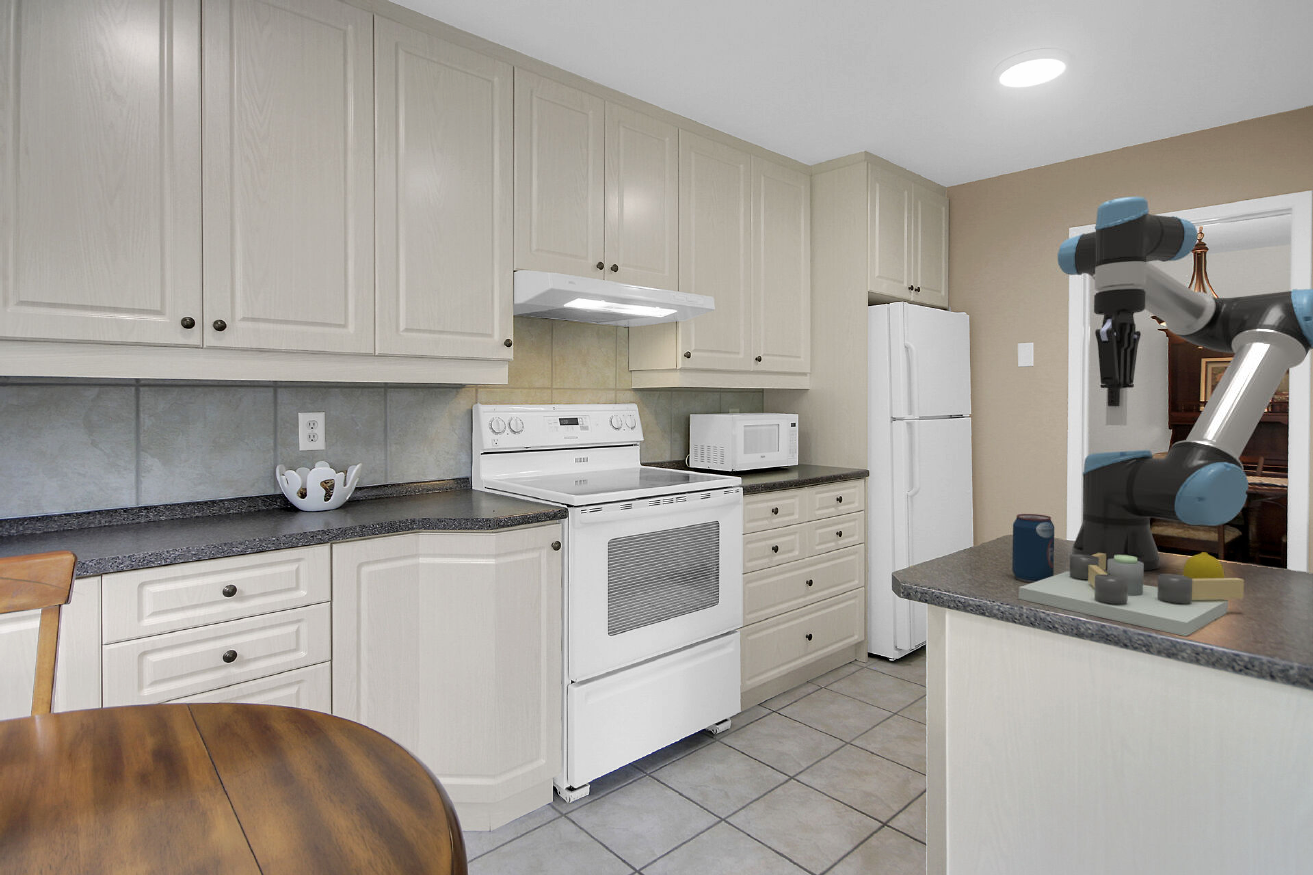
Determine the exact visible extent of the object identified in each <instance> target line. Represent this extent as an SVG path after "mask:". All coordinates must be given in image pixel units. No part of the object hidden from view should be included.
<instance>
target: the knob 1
mask: <svg viewBox="0 0 1313 875" xmlns="http://www.w3.org/2000/svg"><path fill="white" fill-rule="evenodd" d="M1088 565H1097V566H1098V567H1099V568H1100V569H1102V570H1103V571H1104V572H1105V571H1106V569H1107V568H1106V554H1104V553H1097V554H1094V555H1083V554H1073V555H1072V554H1070V555H1069V571H1070V576H1072V577H1075V578H1079V579H1088Z"/></svg>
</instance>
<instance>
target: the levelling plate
mask: <svg viewBox="0 0 1313 875" xmlns="http://www.w3.org/2000/svg"><path fill="white" fill-rule="evenodd" d="M1106 569H1107V571H1106V573H1107V574H1108V575H1116V576H1121V577H1125V578H1127V579H1128V598H1127V603H1123V604H1115V603H1107V602H1102V601H1099V600H1096V599H1095V598H1094V597H1095V588H1094V587H1093V586H1092V585H1091V584H1090V583H1089V582H1088V579H1079V578H1075V577H1072V576H1070V570H1067V571H1064V572H1061V573H1058V574H1055V575H1053V576H1052V577H1049V578H1046V579H1043V580H1040V581H1037V582H1034V583H1033V582H1030V583H1028V584H1025V585H1023V586H1019V587H1018V599H1019V600H1022V601H1026V602H1031V603H1035V604H1040V605H1045V606H1048V607H1054V608H1058V609H1062V610H1066V611H1072V612H1076V613H1081V614H1085V615H1089V616H1093V617H1098V618H1103V619H1108V620H1111V621H1115V622H1121V623H1125V624H1129V625H1134V626H1138V627H1143V628H1147V629H1151V630H1157V631H1161V632H1165V633H1169V634H1170V633H1171V634H1174V635H1179V636H1182V637H1187V636H1190V635H1191V634H1193V633H1194V632H1197V631H1199V630H1200V629H1201V628H1203V627H1205V626H1207V625H1209V624H1210V623H1212V622H1214V621H1215V619H1216V620H1218V619H1219V618H1221V617H1223V616H1224V615H1226V614H1228V612H1229V611H1228V609H1229V599H1192V602H1191V603H1174V602H1168V601H1164V600H1161V599H1159V598H1158V597H1157V592H1158V586H1153V585H1145V584H1144V571H1145V570H1144V563H1142V562H1140V561H1137V558H1136V557H1134V556H1128V555H1115V556H1114V558H1113V559H1108V566H1107V568H1106ZM1208 623H1209V624H1208Z"/></svg>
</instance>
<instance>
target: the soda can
mask: <svg viewBox="0 0 1313 875" xmlns="http://www.w3.org/2000/svg"><path fill="white" fill-rule="evenodd" d="M1011 550H1012V553H1011V554H1012V555H1011V556H1012V558H1011V559H1012V561H1011V570H1012V573H1013V575H1014V577H1015V578H1016V579H1017V580H1019V581H1022V582H1027V583H1033V582H1037V581H1040V580H1043V579H1046V578H1049V577H1052V576H1054V571H1055V570H1054V569H1055V566H1054V565H1055V564H1054V562H1055V525H1054V523H1053V521H1052V517H1051V516H1049V515H1046V514H1045V515H1044V514H1039V513H1037V514H1036V513H1021V514H1016V519H1015V520H1014V522H1013V524H1012V549H1011Z"/></svg>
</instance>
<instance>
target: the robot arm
mask: <svg viewBox="0 0 1313 875" xmlns="http://www.w3.org/2000/svg"><path fill="white" fill-rule="evenodd" d="M1148 203H1149V202H1148V200H1147V199H1146V198H1144V197H1141V196H1126V197H1120V198H1115V199H1111V200H1107V201H1105V202H1102V204H1100V205H1098V208H1097V211H1096V219H1095V226H1094V230H1095V231H1091V232H1087V233H1081V234H1079V235H1075V236H1073V237H1069V238H1067V239H1065V240H1064V241H1063V242H1062V243H1061V244H1060V246H1059V248H1058V252H1057V264H1058V266H1059V268H1060V269H1061V271H1062V272H1063V273H1064V274H1066V275H1069V276H1074V275H1078V276H1081V275H1083V274H1087V275H1088V276H1091V278H1092V279H1093V280H1094V290H1096V293H1095V294H1094V297H1093V298H1094V300H1093V312H1094V314H1095V315H1099V316H1100V315H1101V316H1103V319H1102V325H1101V328H1097V329H1095V332H1094V333H1095V338H1096V342H1097V350H1098V351H1097V352H1098V361H1099V362H1098V364H1099V374H1100V377H1099V378H1100V388H1101V389H1106V398H1105V399H1106V400H1105V401H1106V406H1105V407H1106V408H1105V409H1106V411H1105V426H1127V420H1128V419H1127V418H1128V417H1127V416H1128V389H1129V388H1130V389H1131V388H1134V387H1135V384H1134V380H1135V370H1136V365H1137V363H1136V362H1137V358H1138V357H1137V356H1138V348H1139V347H1138V346H1139V342H1140V340H1141V336H1142V334H1141V330H1137V329H1136V323H1135V319H1134V318H1135V317H1134V314H1135V313H1141V312H1143V311H1147V312H1149V313H1150V314H1152V315H1154V316H1155V317H1157V318H1158V319H1160V320H1162V321H1163V322H1164V324H1165V326H1166V328H1167V330H1168V331H1169V332H1171V333H1173V334H1174V335H1175V336H1178V337H1179V338H1181V339H1183V340H1185V341H1187V342H1189V343H1191V344H1193V345H1196V346H1199V347H1201V348H1205V349H1209V350H1211V351H1216V352H1220V353H1229V354H1234V356H1233V357H1232V360H1230V363H1229V364H1228V366H1227V367H1226V369H1225V371H1224V373H1223V375H1222V376H1221V378H1220V380H1219V381H1218V384H1217V385H1216V386H1215V389H1213V392H1212V393H1211V395H1210V397H1209V398H1208V401H1207V402H1206V404H1205V406H1204V408H1203V409H1202V411H1201V413H1200V415H1199V416H1198V418H1197V420H1196V422H1195V424H1194V425H1193V427H1192V429H1191V431H1190V433H1189V434H1188V435H1187V437H1186V439H1184V440H1180V441H1176V442H1175V443H1173V444H1172V445H1171V447H1170V448H1169V450H1168V451H1167V453H1166V456H1164V458H1158V457H1154V455H1153V452H1152V451H1151V450H1149V449H1145V450H1142V449H1141V450H1127V451H1125V450H1124V451H1112V452H1097V453H1090V454H1088V455H1087V456H1086V457H1085V459H1084V464H1083V471H1082V523H1081V525H1080V529H1079V530H1078V533H1077V536H1076V538H1075V541H1074V543H1073V545H1072V549H1071V550H1072V551H1071V555H1073V554H1083V555H1094V554H1097V553H1104V554H1106V569H1107V566H1108V559H1113V558H1114V556H1115V555H1128V556H1134V557H1136V558H1137V561H1140V562H1142V563H1144V571H1151V570H1156V569H1158V568H1160V554H1159V550H1158V548H1157V545H1156V542H1155V539H1154V537H1153V533H1152V531H1151V521H1150V520H1151V518H1153V519H1160V520H1165V521H1166V520H1167V521H1172V522H1177V523H1178V522H1179V523H1185V524H1187V525H1192V526H1200V525H1201V526H1212V527H1213V526H1220V525H1223V524H1226V523H1229V522H1230V521H1232V520H1233V519H1234V518H1235V517H1236V516H1237V515H1238V514H1239V513H1240V512H1241V510H1242V509H1243V507H1244V505H1245V503H1246V501H1247V498H1248V494H1247V493H1246V492H1247V491H1248V490H1249V480H1248V477H1247V474H1246V473H1245V471H1244V465H1243V463H1242V461H1241V460H1240V457H1241V456H1242V453H1243V451H1244V449H1245V447H1246V446H1247V444H1248V442H1249V440H1250V438H1251V437H1252V435H1253V433H1254V431H1255V429H1256V427H1257V425H1258V423H1259V422H1260V421H1261V418H1262V417H1263V415H1264V413H1265V411H1266V410H1267V407H1268V406H1269V404H1270V402H1271V400H1272V398H1273V397H1274V395H1275V393H1276V392H1277V389H1278V388H1279V385H1280V384H1281V382H1282V381H1283V378H1284V377H1285V375H1286V373H1287V371H1288V370H1289V369H1291V368H1292V369H1293V368H1295V367H1298V366H1300V364H1302V363H1303V362H1304V361H1305V359H1306V357H1307V355H1308V354H1309V352H1310V350H1313V288H1306V289H1304V288H1303V289H1297V288H1294V289H1292V290H1288V291H1279V292H1272V293H1271V292H1270V293H1263V294H1261V293H1260V294H1255V295H1254V294H1253V295H1246V296H1245V295H1244V296H1235V297H1234V296H1233V297H1214V296H1211V294H1208V293H1206V292H1204V291H1194V290H1192V289H1190V288H1189V287H1188V286H1186V285H1185V284H1183V283H1181V281H1178V280H1177V279H1175V278H1174V277H1172V276H1170V275H1169V274H1168V273H1166V272H1165V271H1164V270H1161V269H1160V268H1158V267H1157V266H1155V265H1154V264H1152V263H1151V262H1154V261H1160V262H1171V261H1173V262H1175V261H1179V260H1181V259H1183V258H1185V257H1187V256H1188V255H1189V254H1190V253H1192V251H1193V250H1194V248H1195V247H1196V244H1197V242H1198V236H1199V235H1198V231H1197V227H1196V226H1195V224H1194V223H1193V222H1191V221H1190V220H1188V219H1184V218H1181V217H1178V216H1174V215H1172V216H1166V215H1156V214H1151V213H1149V211H1150V209H1149V204H1148ZM1097 291H1098V292H1097Z"/></svg>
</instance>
